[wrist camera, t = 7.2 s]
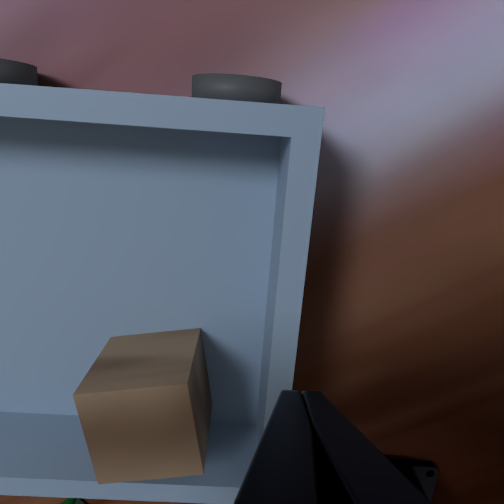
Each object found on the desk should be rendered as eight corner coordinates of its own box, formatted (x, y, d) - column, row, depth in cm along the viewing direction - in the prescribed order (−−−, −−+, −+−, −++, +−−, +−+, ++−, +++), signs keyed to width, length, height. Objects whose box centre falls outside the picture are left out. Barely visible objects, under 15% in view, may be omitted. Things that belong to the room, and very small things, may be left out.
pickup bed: (269, 434, 23) (276, 523, 18) (-5, 421, 23) (-81, 508, 18) (304, 90, 18) (328, 73, 12) (-59, 62, 17) (-193, 33, 12)
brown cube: (212, 403, 21) (203, 474, 17) (128, 411, 21) (98, 484, 17) (200, 327, 20) (187, 383, 15) (110, 336, 20) (72, 395, 15)
